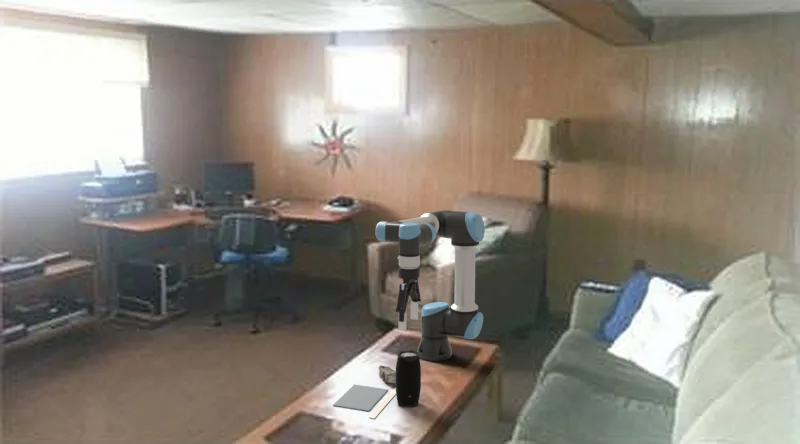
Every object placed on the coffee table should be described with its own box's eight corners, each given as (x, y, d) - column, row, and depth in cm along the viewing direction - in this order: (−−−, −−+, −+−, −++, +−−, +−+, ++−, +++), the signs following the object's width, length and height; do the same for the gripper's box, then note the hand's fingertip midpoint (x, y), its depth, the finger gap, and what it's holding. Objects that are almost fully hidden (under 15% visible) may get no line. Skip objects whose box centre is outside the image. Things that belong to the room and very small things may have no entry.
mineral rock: (405, 386, 273) (406, 375, 272) (386, 388, 271) (386, 377, 270) (396, 373, 287) (396, 362, 286) (377, 375, 285) (377, 364, 284)
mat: (354, 385, 274) (354, 384, 274) (388, 390, 270) (388, 389, 270) (333, 405, 255) (333, 404, 255) (368, 411, 251) (368, 410, 251)
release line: (397, 386, 274) (397, 385, 274) (402, 386, 273) (402, 386, 273) (369, 418, 246) (369, 417, 246) (374, 419, 245) (374, 418, 245)
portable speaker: (417, 410, 252) (417, 358, 249) (392, 407, 255) (392, 355, 252) (423, 400, 260) (423, 350, 257) (398, 397, 263) (399, 347, 260)
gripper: (410, 258, 262) (409, 313, 265) (387, 273, 239) (386, 333, 242) (429, 260, 260) (428, 315, 263) (407, 275, 236) (407, 336, 240)
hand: (408, 324), depth 253 cm, fingers open, 13 cm apart
